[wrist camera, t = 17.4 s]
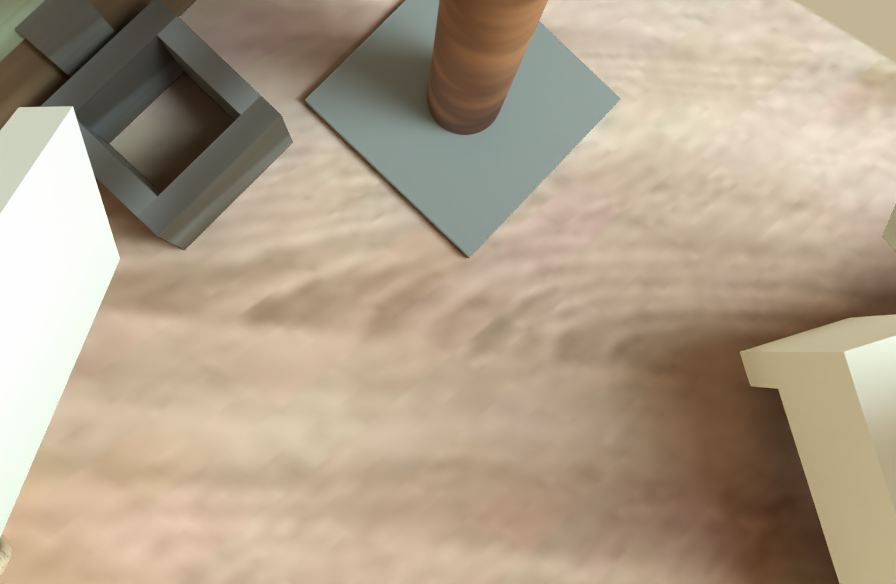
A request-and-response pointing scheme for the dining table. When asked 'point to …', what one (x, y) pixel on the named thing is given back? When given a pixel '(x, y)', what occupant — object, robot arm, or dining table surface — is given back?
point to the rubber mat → (448, 154)
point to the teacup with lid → (4, 553)
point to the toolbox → (136, 99)
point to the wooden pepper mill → (477, 59)
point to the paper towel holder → (843, 433)
